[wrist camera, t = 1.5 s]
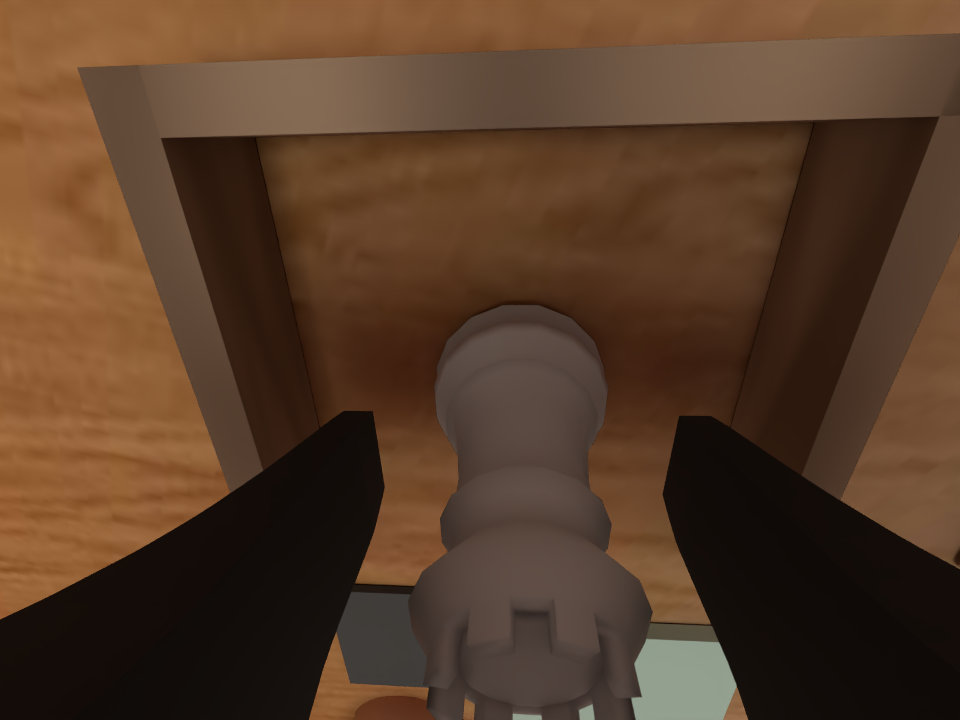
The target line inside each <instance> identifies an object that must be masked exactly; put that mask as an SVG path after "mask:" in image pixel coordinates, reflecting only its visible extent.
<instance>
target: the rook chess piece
mask: <svg viewBox="0 0 960 720" xmlns="http://www.w3.org/2000/svg"><path fill="white" fill-rule="evenodd" d="M434 390H435V403H436V414H437V419H438V422H439V424H440V426H441V427H442V429H443V431H444V433H445V435H446V436H447V438H448V440H449V442H450V443H451V445H452V447H453V448H454V450H455V452H456V454H457V455H458V471H459V480H458V487H457V491H456V492H455V493H454V494H453V495H451V497H450V499H449V501H448V503H447V505H446V507H445V509H444V511H443V514H442V516H441V518H440V524H441V536H442V543H443V545H444V546H445V548H446V549H447V551H448V552H447V553H446V554H445V555H444V556H442V557H441V558H440V559H438V560H437V561H436V562H434V563H433V564H432V565H430V566H429V567H428V568H427V569H425V570H424V571H423V572H422V573H421V575H420V577H419V579H418V581H417V583H416V585H415V587H414V589H413V591H412V593H411V595H410V597H409V599H408V607H409V614H410V621H411V628H412V632H413V634H414V635H415V637H416V639H417V641H418V643H419V645H420V646H421V648H422V650H423V652H424V654H425V656H426V657H427V662H426V669H425V675H424V681H423V685H426V686H429V692H428V699H427V705H426V709H427V710H428V711H429V712H430V713H431V715H432V716H433V717H434V718H435V719H436V720H463V712H464V699H467V700H469V701H471V702H472V703H474V704H475V713H474V720H513V714H523V715H540V716H542V720H580V716H579V710H581V709H583V708H585V707H587V706H590V705H592V704H593V711H594V718H595V720H636V718H635V713H634V708H633V704H632V699H631V698H637V697H642V695H641V690H640V686H639V682H638V678H637V673H636V669H635V665H634V663H635V662H636V660H637V658H638V656H639V654H640V652H641V650H642V648H643V646H644V644H645V642H646V638H647V633H648V629H649V625H650V621H651V617H652V609H651V607H650V604H649V602H648V600H647V597H646V595H645V592H644V590H643V587H642V585H641V583H640V580H638V579H637V578H636V577H635V576H634V575H632V574H631V573H630V572H629V571H627V570H626V569H625V568H624V567H622V566H621V565H620V564H619V563H617V562H616V561H615V560H614V559H613V558H611V557H610V556H609V555H608V554H606V553H605V551H606V550H607V549H608V544H609V537H610V531H611V522H610V519H609V517H608V514H607V512H606V510H605V507H604V505H603V503H602V500H601V499H600V498H599V497H598V496H596V495H595V494H594V493H593V492H592V491H591V490H590V485H589V477H588V451H589V449H590V447H591V446H592V444H593V443H594V441H595V437H596V435H597V434H598V432H599V431H600V429H601V427H602V426H603V423H604V417H605V409H606V401H607V393H608V385H607V382H606V379H605V376H604V367H603V364H602V361H601V358H600V356H599V353H598V350H597V347H596V344H595V342H594V340H593V339H592V338H591V337H590V336H589V335H588V334H587V333H586V332H585V331H584V330H583V329H582V328H581V327H580V326H579V325H578V324H577V323H576V322H575V321H574V320H573V319H572V318H570V317H567V316H565V315H562V314H560V313H557V312H555V311H552V310H550V309H547V308H545V307H542V306H540V305H502V306H499V307H497V308H494V309H492V310H489V311H487V312H484V313H481V314H479V315H476V316H474V317H471V318H470V319H469V320H468V321H467V322H466V323H465V324H464V325H463V326H462V327H461V328H460V329H458V330H457V331H456V332H455V333H454V334H453V335H452V336H451V337H450V338H449V339H448V340H447V343H446V345H445V348H444V350H443V353H442V355H441V358H440V360H439V363H438V365H437V379H436V381H435V384H434Z"/></svg>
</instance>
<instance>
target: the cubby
mask: <svg viewBox="0 0 960 720" xmlns="http://www.w3.org/2000/svg"><path fill="white" fill-rule="evenodd" d="M78 71H79V74H80V77H81V80H82V82H83V85H84V88H85V91H86V93H87V96H88V99H89V102H90V104H91V107H92V110H93V113H94V116H95V118H96V121H97V124H98V127H99V129H100V132H101V135H102V138H103V141H104V143H105V146H106V149H107V152H108V154H109V157H110V160H111V163H112V166H113V168H114V171H115V174H116V177H117V179H118V182H119V185H120V188H121V191H122V193H123V196H124V199H125V202H126V204H127V207H128V210H129V213H130V215H131V218H132V221H133V224H134V227H135V229H136V232H137V235H138V238H139V240H140V243H141V246H142V249H143V252H144V254H145V257H146V260H147V263H148V265H149V268H150V271H151V274H152V277H153V279H154V282H155V285H156V288H157V290H158V293H159V296H160V299H161V301H162V304H163V307H164V310H165V313H166V315H167V318H168V321H169V324H170V326H171V329H172V332H173V335H174V338H175V340H176V343H177V346H178V349H179V351H180V354H181V357H182V360H183V363H184V365H185V368H186V371H187V374H188V376H189V379H190V382H191V385H192V388H193V390H194V393H195V396H196V399H197V401H198V404H199V407H200V410H201V412H202V415H203V418H204V421H205V424H206V426H207V429H208V432H209V435H210V437H211V440H212V443H213V446H214V449H215V451H216V454H217V457H218V460H219V462H220V465H221V468H222V471H223V474H224V476H225V479H226V482H227V485H228V487H229V490H230V493H231V492H233V491H234V490H236V489H237V488H239V487H240V486H242V485H243V484H244V483H246V482H247V481H249V480H250V479H252V478H253V477H255V476H256V475H258V474H259V473H261V472H262V471H263V470H265V469H266V468H268V467H269V466H270V465H272V464H273V463H274V462H276V461H277V460H278V459H280V458H281V457H282V456H284V455H285V454H286V453H288V452H289V451H290V450H292V449H293V448H294V447H296V446H297V445H298V444H300V443H301V442H302V441H304V440H305V439H306V438H308V437H309V436H310V435H312V434H313V433H314V432H316V431H317V430H318V429H320V428H319V424H318V420H317V415H316V411H315V406H314V402H313V397H312V393H311V388H310V384H309V379H308V375H307V370H306V366H305V361H304V357H303V352H302V348H301V344H300V339H299V335H298V330H297V326H296V321H295V317H294V312H293V308H292V303H291V299H290V294H289V290H288V285H287V281H286V277H285V272H284V268H283V263H282V259H281V254H280V250H279V245H278V241H277V236H276V232H275V227H274V223H273V218H272V214H271V210H270V205H269V201H268V196H267V192H266V187H265V183H264V178H263V174H262V169H261V165H260V160H259V156H258V151H257V147H256V143H255V138H254V137H287V136H324V135H361V134H398V133H434V132H471V131H508V130H545V129H581V128H618V127H655V126H692V125H728V124H765V123H802V122H815V124H814V128H813V131H812V135H811V139H810V142H809V146H808V149H807V153H806V157H805V160H804V164H803V168H802V171H801V175H800V178H799V182H798V186H797V189H796V193H795V196H794V200H793V204H792V207H791V211H790V215H789V218H788V222H787V225H786V229H785V233H784V236H783V240H782V244H781V247H780V251H779V254H778V258H777V262H776V265H775V269H774V273H773V276H772V280H771V283H770V287H769V291H768V294H767V298H766V301H765V305H764V309H763V312H762V316H761V320H760V323H759V327H758V330H757V334H756V338H755V341H754V345H753V349H752V352H751V356H750V359H749V363H748V367H747V370H746V374H745V378H744V381H743V385H742V388H741V392H740V396H739V399H738V403H737V407H736V410H735V414H734V417H733V421H732V425H731V428H732V429H733V430H735V431H736V432H738V433H739V434H741V435H742V436H744V437H745V438H747V439H748V440H750V441H751V442H752V443H754V444H755V445H757V446H758V447H760V448H761V449H763V450H764V451H766V452H767V453H769V454H770V455H772V456H773V457H775V458H776V459H778V460H779V461H781V462H782V463H783V464H785V465H786V466H788V467H789V468H791V469H792V470H794V471H795V472H797V473H798V474H800V475H801V476H803V477H805V478H806V479H808V480H809V481H811V482H812V483H814V484H815V485H817V486H818V487H820V488H821V489H823V490H824V491H826V492H828V493H829V494H831V495H832V496H834V497H836V498H837V499H839V500H840V499H841V497H842V495H843V493H844V491H845V488H846V486H847V484H848V482H849V479H850V477H851V475H852V473H853V470H854V468H855V466H856V464H857V462H858V459H859V457H860V455H861V453H862V450H863V448H864V446H865V444H866V441H867V439H868V437H869V435H870V433H871V430H872V428H873V426H874V424H875V421H876V419H877V417H878V415H879V413H880V410H881V408H882V406H883V404H884V401H885V399H886V397H887V395H888V392H889V390H890V388H891V386H892V384H893V381H894V379H895V377H896V375H897V372H898V370H899V368H900V366H901V364H902V361H903V359H904V357H905V355H906V352H907V350H908V348H909V346H910V343H911V341H912V339H913V337H914V335H915V332H916V330H917V328H918V326H919V323H920V321H921V319H922V317H923V314H924V312H925V310H926V308H927V306H928V303H929V301H930V299H931V297H932V294H933V292H934V290H935V288H936V286H937V283H938V281H939V279H940V277H941V274H942V272H943V270H944V268H945V265H946V263H947V261H948V259H949V257H950V254H951V252H952V250H953V248H954V245H955V243H956V241H957V239H958V237H959V234H960V33H958V34H932V35H906V36H880V37H855V38H829V39H803V40H777V41H752V42H726V43H700V44H674V45H649V46H623V47H597V48H571V49H546V50H520V51H494V52H468V53H443V54H417V55H391V56H365V57H340V58H314V59H288V60H262V61H237V62H211V63H185V64H159V65H134V66H108V67H82V68H78Z"/></svg>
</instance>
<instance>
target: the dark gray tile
mask: <svg viewBox="0 0 960 720" xmlns="http://www.w3.org/2000/svg"><path fill="white" fill-rule="evenodd" d="M413 589H414V587H398V586H373V585H354V586H353V589H352V592H351V594H350V597H349V599H348V602H347V605H346V607H345V610H344V613H343V615H342V618H341V620H340V623H339V626H338V628H337V631H336V632H337V635H338V639H339V643H340V647H341V650H342V654H343V658H344V661H345V665H346V669H347V673H348V676H349V680H350V683H355V684H373V685H391V686H409V687H427V688H429V686H426V685H423V681H424V675H425V669H426V662H427V657H426V656H425V654H424V652H423V650H422V648H421V646H420V645H419V643H418V641H417V639H416V637H415V635H414V634H413V632H412V628H411V621H410V614H409V607H408V599H409V597H410V595H411V593H412V591H413Z"/></svg>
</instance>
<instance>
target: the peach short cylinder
mask: <svg viewBox="0 0 960 720" xmlns="http://www.w3.org/2000/svg"><path fill="white" fill-rule="evenodd" d="M426 705H427V701H426V700H422V699H418V698H413V697H405V696H387V697H380V698H376V699H373V700H370V701H368V702H366V703H364V704H363V705H361V706H360V707H359V708H358V710H357V711H356V714H355V717H354V720H436V719H435V718H434V717H433V716H432V715H431V713H430V712H429V711H428V710H427V709H426Z"/></svg>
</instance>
